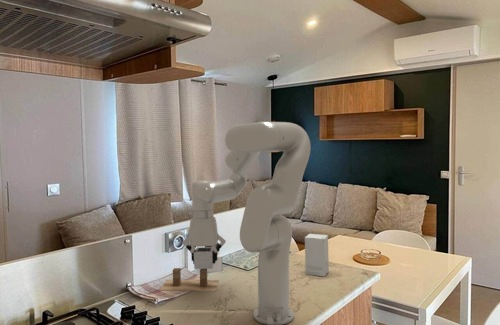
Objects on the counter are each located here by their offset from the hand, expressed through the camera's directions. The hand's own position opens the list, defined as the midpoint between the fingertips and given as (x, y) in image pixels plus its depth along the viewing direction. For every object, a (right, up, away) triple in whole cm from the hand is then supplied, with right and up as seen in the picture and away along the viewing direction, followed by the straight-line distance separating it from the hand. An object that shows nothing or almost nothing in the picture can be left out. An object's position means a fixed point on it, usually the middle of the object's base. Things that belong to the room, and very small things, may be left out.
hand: (204, 262), depth 140 cm
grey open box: (0, -1, 0) cm, 1 cm away
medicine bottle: (+1, -9, +19) cm, 21 cm away
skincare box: (+44, -9, +16) cm, 48 cm away
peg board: (-5, -10, +1) cm, 11 cm away
